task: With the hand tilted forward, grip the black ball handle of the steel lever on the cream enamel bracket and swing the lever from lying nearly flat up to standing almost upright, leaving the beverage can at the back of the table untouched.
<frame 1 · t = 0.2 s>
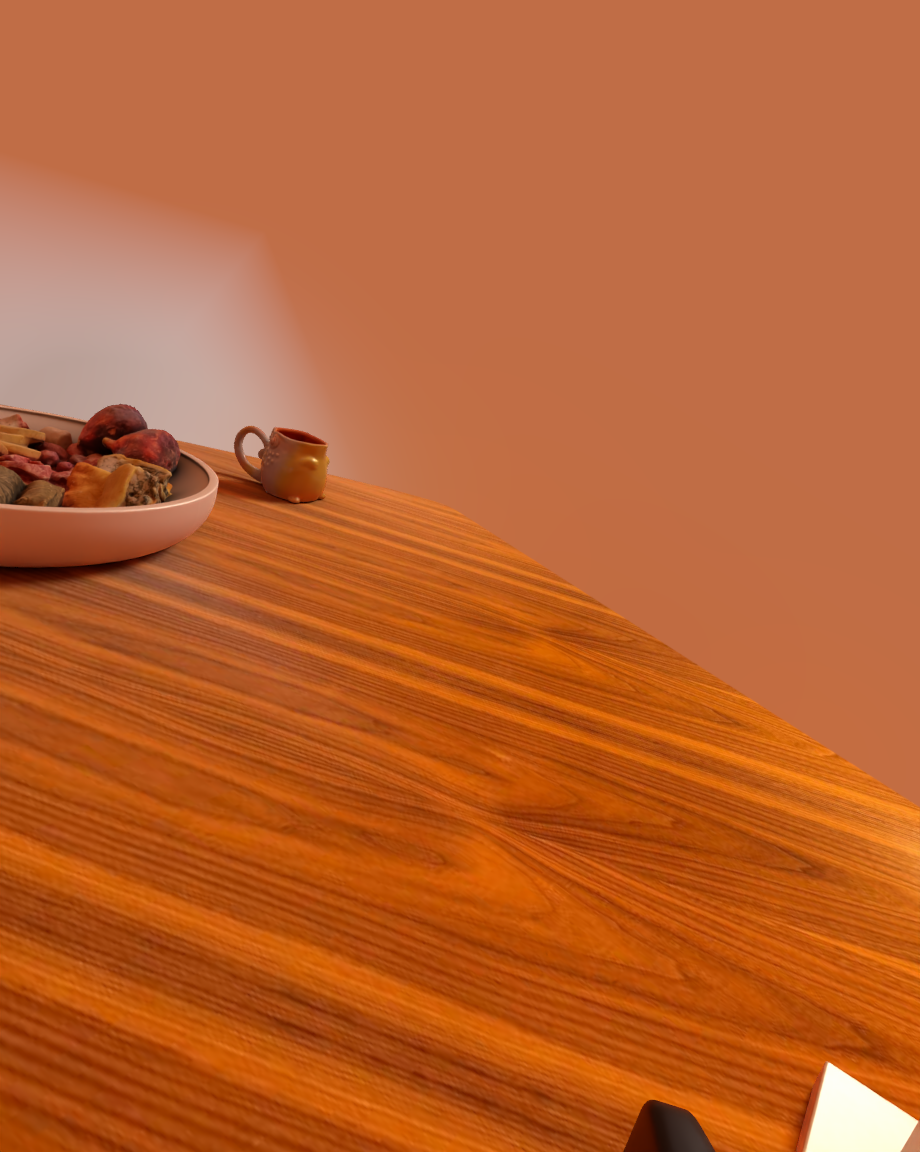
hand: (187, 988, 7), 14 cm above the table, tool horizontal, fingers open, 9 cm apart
mug 2: (273, 489, 83), on the table
bowl: (2, 512, 57), on the table
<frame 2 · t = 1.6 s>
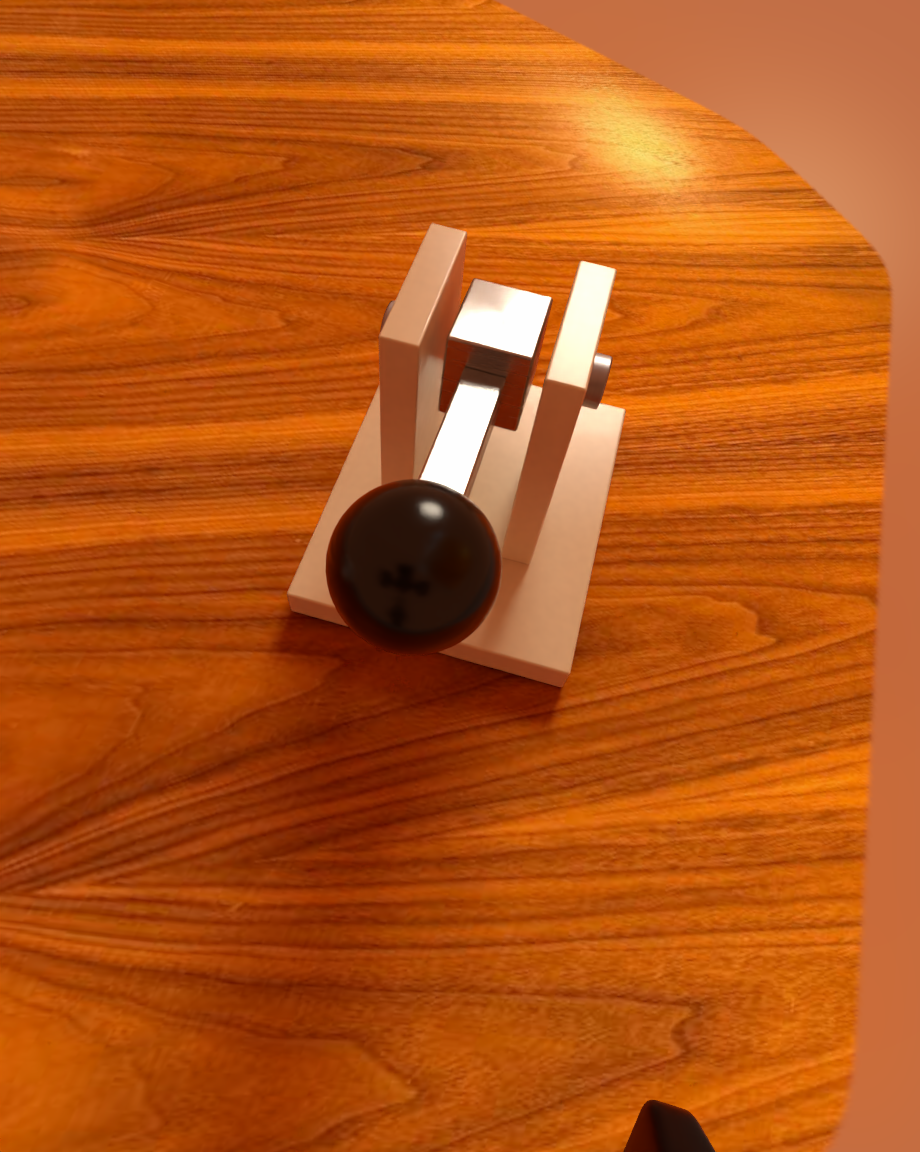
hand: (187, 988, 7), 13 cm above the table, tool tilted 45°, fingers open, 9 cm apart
lever: (457, 453, 18), point 8 cm above the table, hinge at 8.0°
bracket: (469, 512, 26), on the table
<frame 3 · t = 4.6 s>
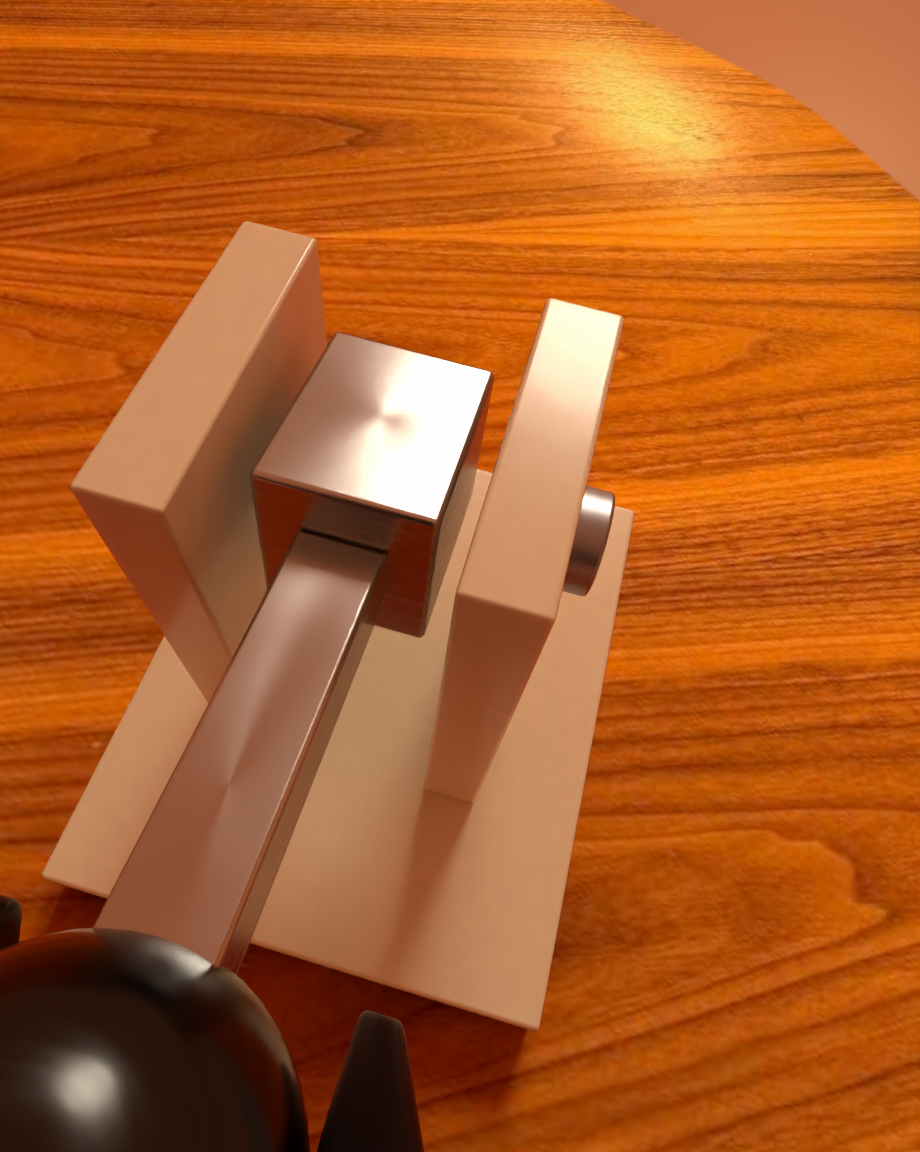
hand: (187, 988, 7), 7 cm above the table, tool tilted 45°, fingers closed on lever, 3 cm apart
lever: (257, 756, 8), point 8 cm above the table, hinge at 8.0°, touching gripper
bracket: (383, 685, 16), on the table
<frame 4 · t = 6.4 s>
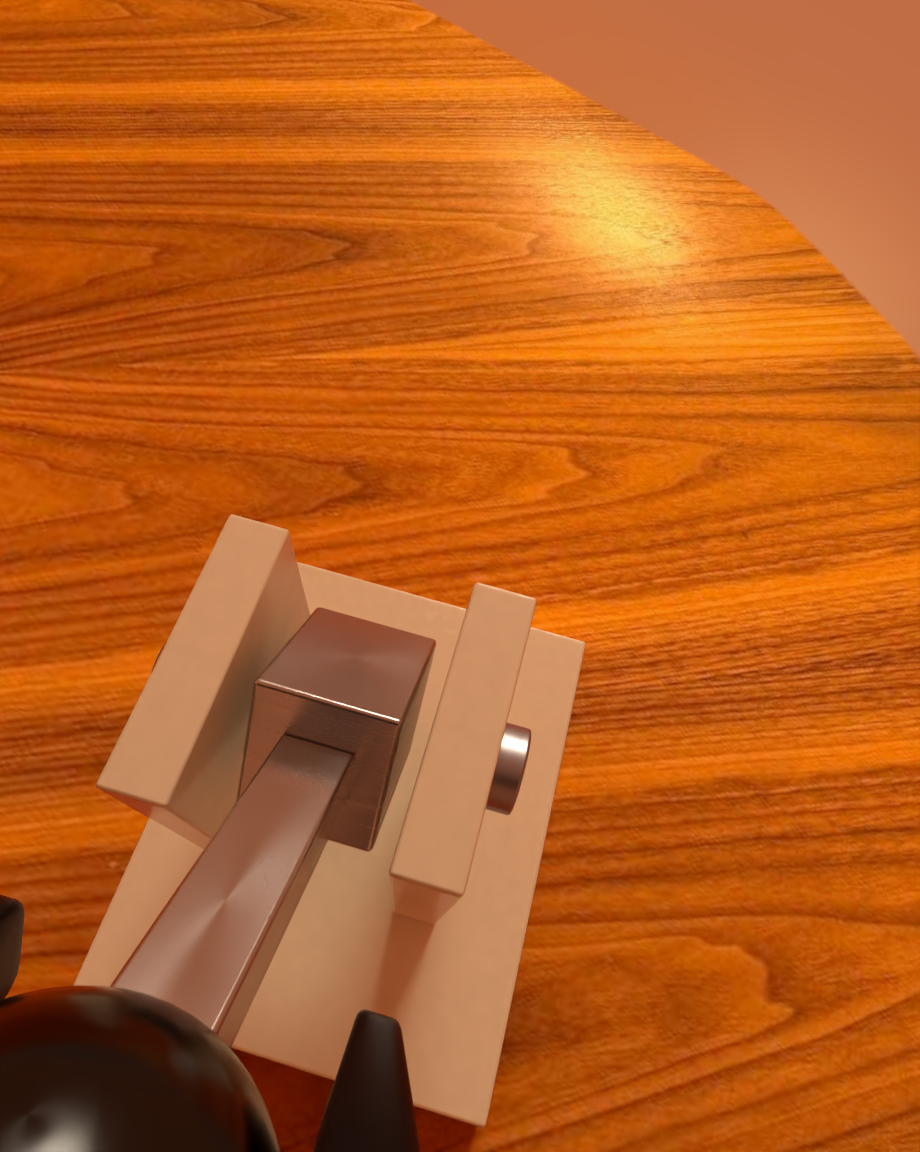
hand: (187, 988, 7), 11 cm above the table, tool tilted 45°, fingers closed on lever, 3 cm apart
lever: (239, 900, 9), point 10 cm above the table, hinge at 41.1°, touching gripper
bracket: (362, 805, 19), on the table
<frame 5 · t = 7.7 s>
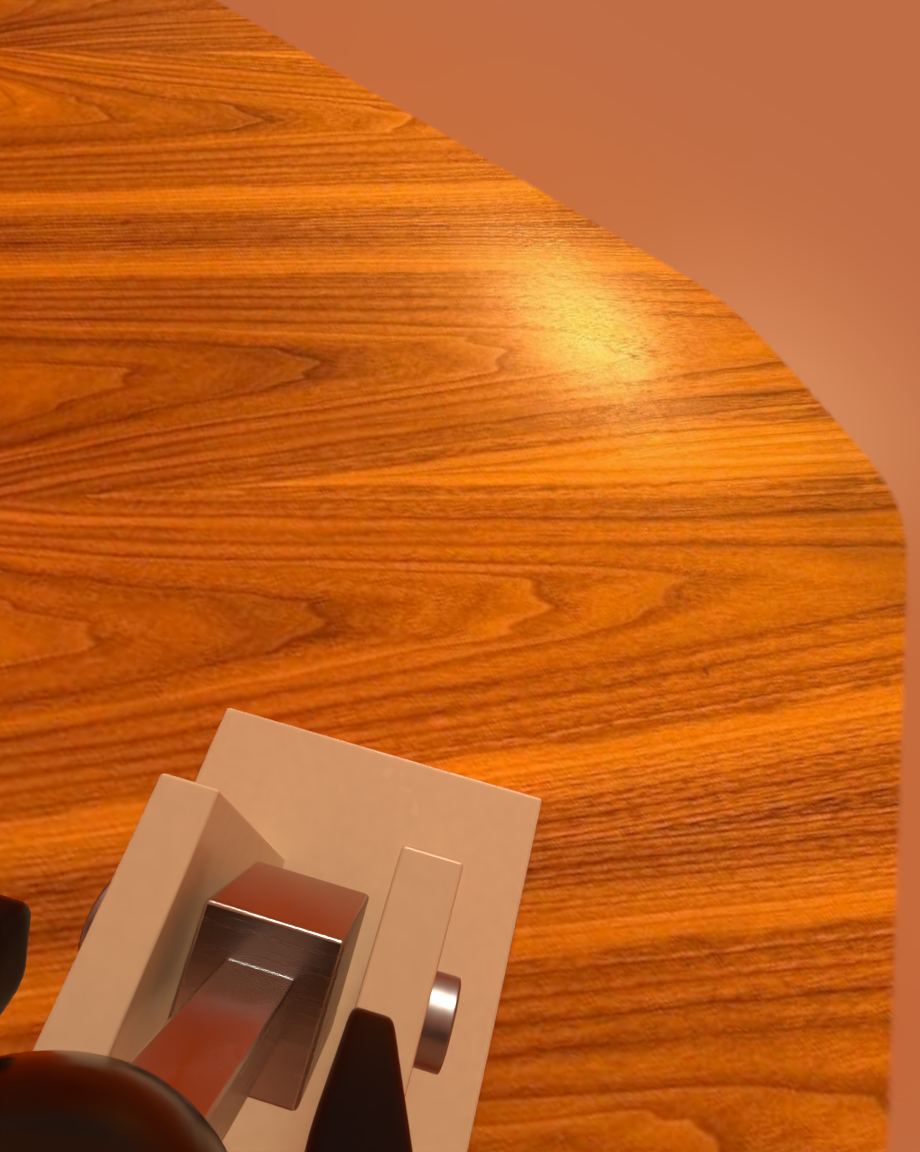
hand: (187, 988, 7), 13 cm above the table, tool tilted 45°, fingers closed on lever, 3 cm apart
lever: (182, 1095, 8), point 11 cm above the table, hinge at 70.8°, touching gripper
bracket: (316, 972, 19), on the table
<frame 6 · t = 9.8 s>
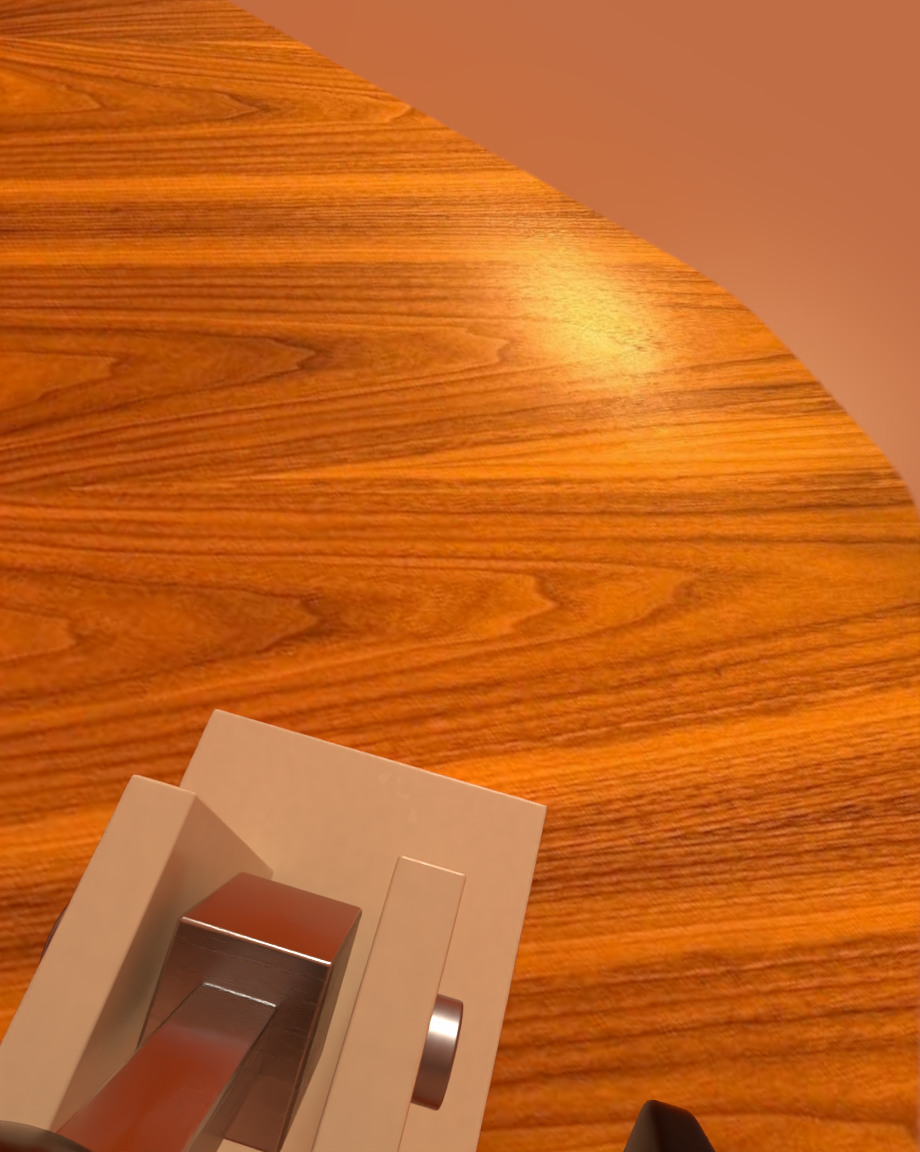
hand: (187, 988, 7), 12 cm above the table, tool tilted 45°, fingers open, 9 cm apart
lever: (141, 1148, 7), point 11 cm above the table, hinge at 70.3°
bracket: (306, 991, 18), on the table
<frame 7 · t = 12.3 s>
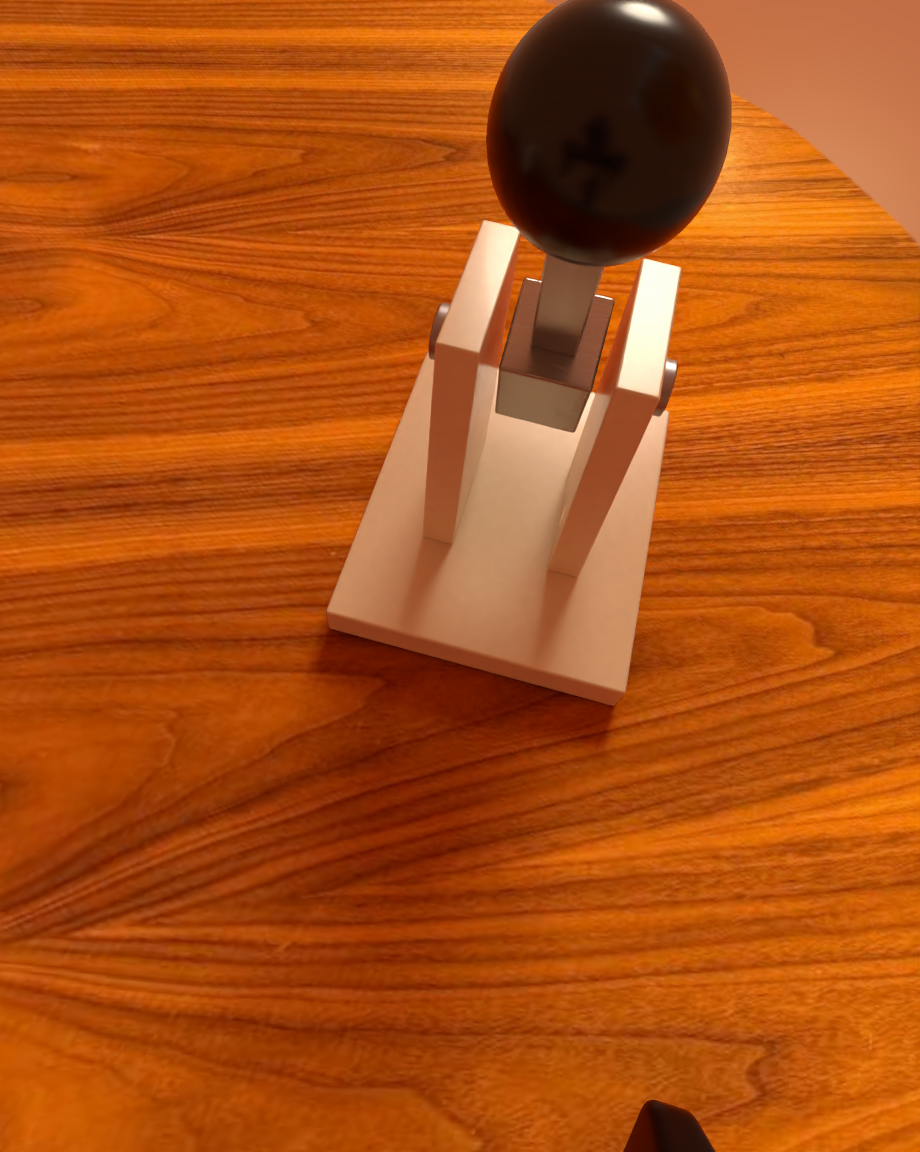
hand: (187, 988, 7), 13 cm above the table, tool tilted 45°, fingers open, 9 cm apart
lever: (572, 270, 15), point 11 cm above the table, hinge at 70.3°
bracket: (509, 521, 25), on the table
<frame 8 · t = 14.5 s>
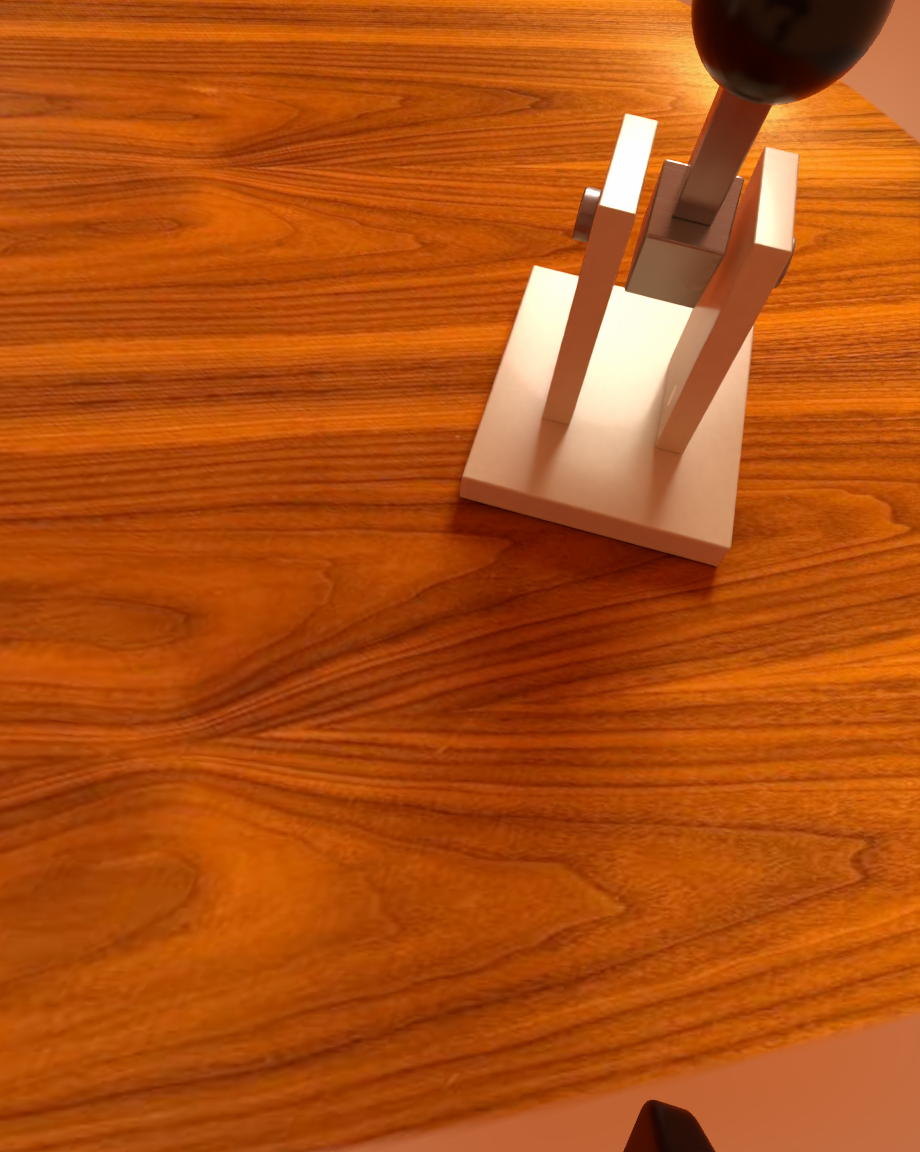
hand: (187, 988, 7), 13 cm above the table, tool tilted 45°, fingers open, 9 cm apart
lever: (727, 134, 18), point 11 cm above the table, hinge at 70.3°
bracket: (613, 413, 28), on the table
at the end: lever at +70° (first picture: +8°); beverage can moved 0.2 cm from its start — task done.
